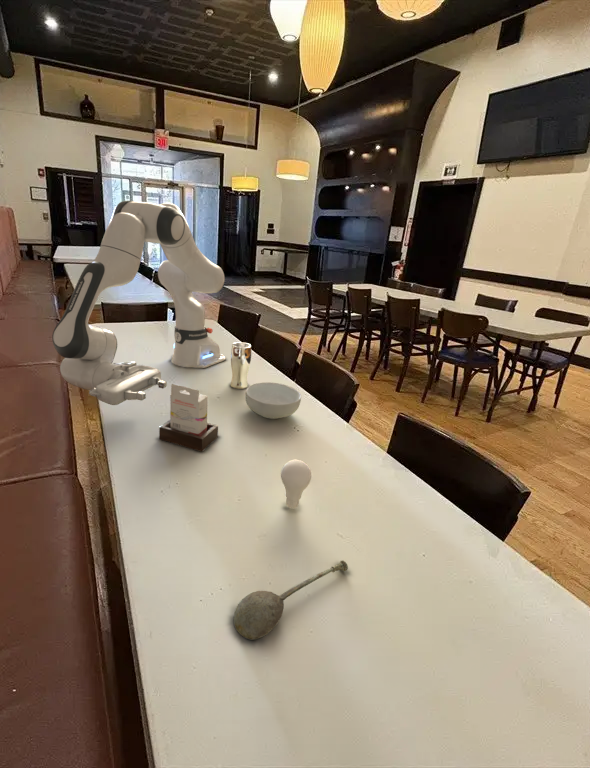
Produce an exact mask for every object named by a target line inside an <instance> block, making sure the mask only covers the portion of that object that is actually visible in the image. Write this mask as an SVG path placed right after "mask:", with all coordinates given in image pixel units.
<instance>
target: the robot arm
mask: <svg viewBox="0 0 590 768" xmlns="http://www.w3.org/2000/svg"><path fill="white" fill-rule="evenodd" d="M145 243H153V244H159V245H160V247H161V249H162V252H163V254H164V256H165V258H166V259H165V260H163V261H162V262H161V263H160V264H159V266H158V269H157V277H158V278H157V279H158V281H159V283H160V285H162V286H163V287H164V288H165V289H166V290H167V292H168V293H169V295H170V297H171V299H172V301H173V306H174V313H175V325H174V343H173V346H172V347H173V354H172V357H171V360H170V361H171V363H172V364H173V365H175V366H178V367H183V368H197V369H198V368H199V369H206V368H208V367H211V366H213V365H216V364H219V363H221V362H224V361H226V356H225V355H223V354H222V353H221V348H220V345H219V344H218V343H217V342H216V341H214V340H213V339H212V338H211V337H209V334H212V333H213V330H214V329H213V328H211V327H205V322H206V310H205V307H204V305H203V304H202V303H201V302H199V300H197V299H196V298H195V296H194V293H198V294H199V293H200V294H215V293H216V294H217V293H219V292H220V291H221V290H222V289H223V287H224V284H225V281H226V279H225V278H226V277H225V273H224V271H223V269H222V267H220V266H219V265H217V264H215V263H214V262H213V261H211V260H210V259H209V258H208V257H206V255H205V254H203V253H202V252H201V250H200V249H199V247H198V246H197V244H196V241H195V239H194V236H193V234H192V231H191V228H190V226H189V224H188V221H187V219H186V218H185V215H184V213H183V212H182V211H181V209H180V208H179V206H178V205H176V204H175V203H173V202H163V203H159V204H158V203H154V202H149V201H148V202H146V201H134V200H123V201H120V202H119V203H117V205H116V206H115V208H114V209H113V212H112V216H111V219H110V221H109V223H108V224H107V227H106V229H105V231H104V234H103V238H102V239H101V243H100V247H99V250H98V253H97V254H96V256H95V258H94V260H93V261H92V262H89V263H88V264H87V265H86V266H85V267H84V269H83V271H82V272H81V274H80V276H79V278H78V280H77V282H76V285H75V287H74V289H73V292H72V294H71V297H70V299H69V301H68V303H67V306H66V308H65V310H64V313H63V314H62V316H61V318H60V320H59V321H58V322H57V324H56V326H55V327H54V329H53V332H52V335H51V337H52V341H51V342H52V345H53V347H54V349H55V350H56V352H57V354H58V355H59V356H60V357H62V358H63V359H62V361H61V363H60V365H59V371H60V372H59V373H60V375H61V378H62V379H63V380H64V381H65V382H67V383H68V384H70V385H71V386H74V387H76V388H80V389H82V390H87V391H89V392H88V394H89V396H92V397H95V398H96V400H98V401H100V402H102V403H104V404H107V405H111V406H118V405H120V404H121V403H124V402H125V401H140V402H141V401H144V400H145V399H147V393H146V392H144V391H146V390H149V389H150V388H152V387H153V386H157V387H158V389H162V390H163V389H165V388H167V387H168V381H166V380H163V379H162V372H161V370H159V368H156V367H153V366H149V365H144V364H137V361H133V360H132V361H131V360H130V361H125V362H124V361H123V362H114V359H115V357H116V354H117V350H118V339H117V336H116V335H115V333H114V332H113V331H112V330H110V329H108V328H105V327H103V326H102V327H101V326H97V325H93V324H89V320H90V317H91V315H92V312H93V310H94V307H95V306H96V302H97V301H98V298H99V296H100V295H101V294H102V292H104V291H105V290H108V289H109V288H115V287H116V288H117V287H122V286H125V285H127V284H129V283H131V282H132V281H133V280H134V279H135V277H136V275H137V274H138V271H139V268H140V264H141V261H142V256H143V252H144V247H145Z"/></svg>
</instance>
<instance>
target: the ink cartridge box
mask: <svg viewBox="0 0 590 768" xmlns="http://www.w3.org/2000/svg"><path fill="white" fill-rule="evenodd" d="M208 399H209V396H208V395H205V394H201V393H200V391H199V390H198V389H194V388H192V387H191V388H190V387H187V386H184V385H183V386H182V385H178V384H174V383H172V384H171V385H170V397H169V401H170V410H169V411H170V412H169V413H170V417H169V420H170V428H172V429H175V430H179V431H182V432H186V433H190V434H193V435H197V436H200V437H201V436H202V435H203V434H205V433H206V432H207V423H208V407H209V405H208V403H209V402H208Z"/></svg>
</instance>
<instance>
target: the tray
mask: <svg viewBox="0 0 590 768" xmlns="http://www.w3.org/2000/svg"><path fill="white" fill-rule="evenodd" d="M158 430H159V431H158V432H159V433H158V434H159V440H161V441H164V442H168V443H171V444H174V445H178V446H181V447H184V448H188V449H191V450H195V451H198V452H201V453H202V452H204V451H205V449H207V448H208V447H209V446H210V445H211V444H212V443H213V442H215V441H216V440H217V439H218V437H219V436H218V435H219V425H217V424H215V423H211V422H207V432H206V433H205V434H203V435H202V436H201V437H200V436H197V435H193V434H190V433H186V432H182V431H179V430H175V429H172V428H170V419H169V420H167V421H166V422H164V423H163V424H162V425H160V426H159V428H158Z"/></svg>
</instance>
